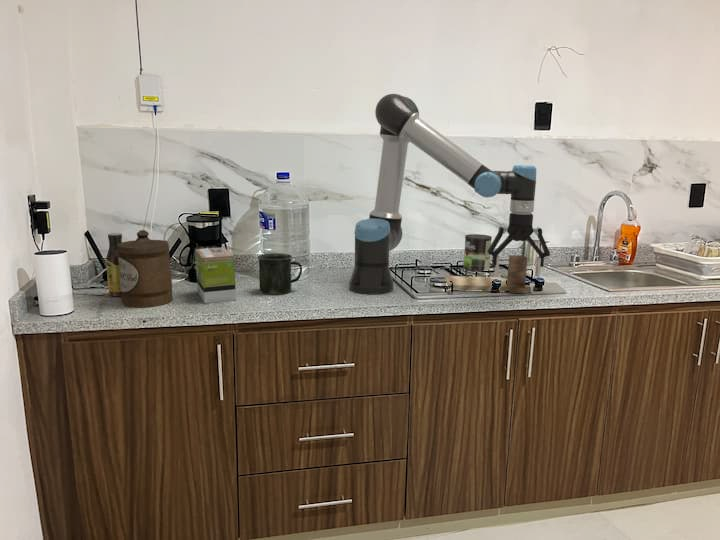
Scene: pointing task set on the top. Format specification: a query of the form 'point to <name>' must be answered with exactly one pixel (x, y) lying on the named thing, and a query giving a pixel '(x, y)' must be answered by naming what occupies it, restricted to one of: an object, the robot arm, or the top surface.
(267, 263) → the mug
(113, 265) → the sauce bottle
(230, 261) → the tea box
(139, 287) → the wooden container
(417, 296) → the top surface
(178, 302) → the top surface
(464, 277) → the birch board
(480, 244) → the coffee can
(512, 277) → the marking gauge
